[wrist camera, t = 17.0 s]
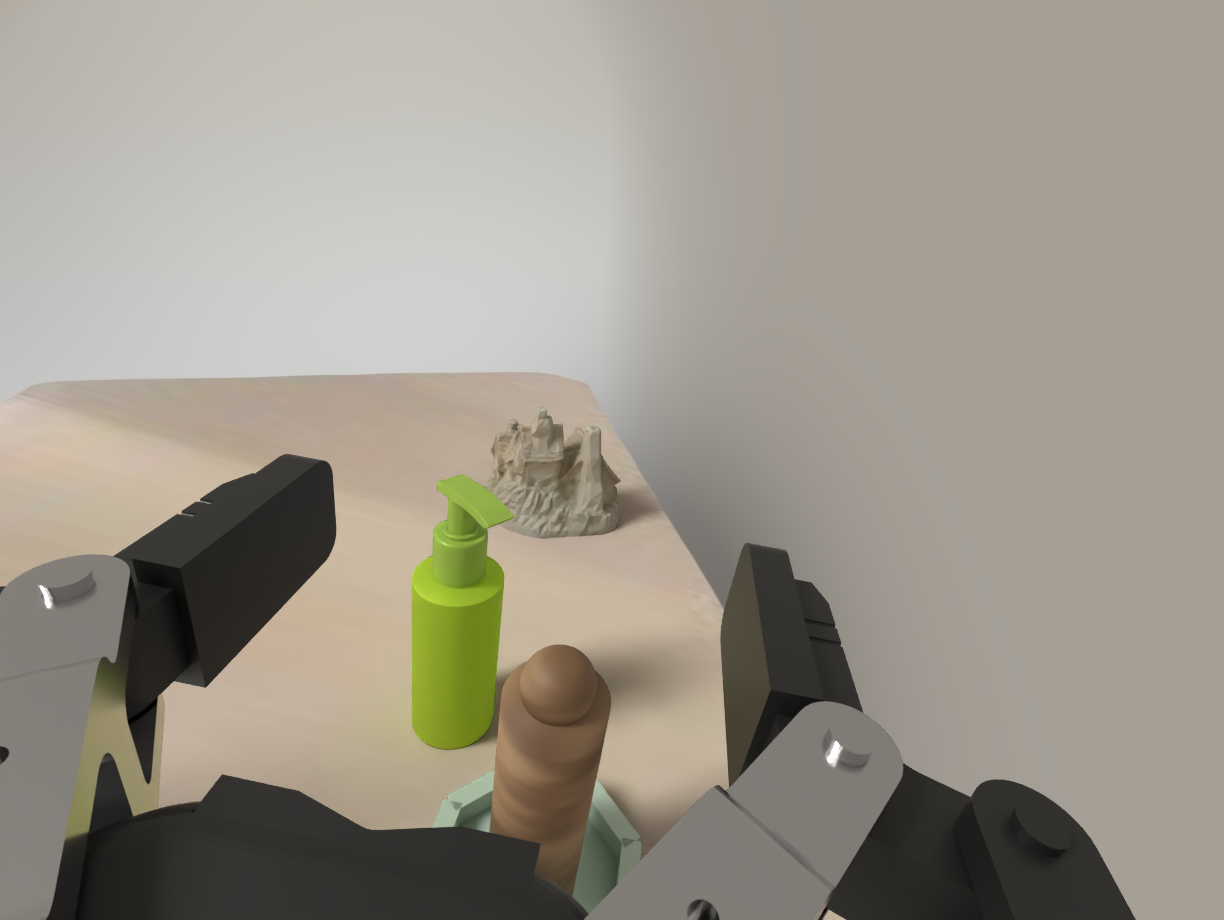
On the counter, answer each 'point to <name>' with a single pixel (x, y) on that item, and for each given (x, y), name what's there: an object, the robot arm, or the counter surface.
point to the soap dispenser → (457, 620)
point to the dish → (604, 847)
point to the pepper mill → (550, 756)
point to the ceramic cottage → (553, 480)
